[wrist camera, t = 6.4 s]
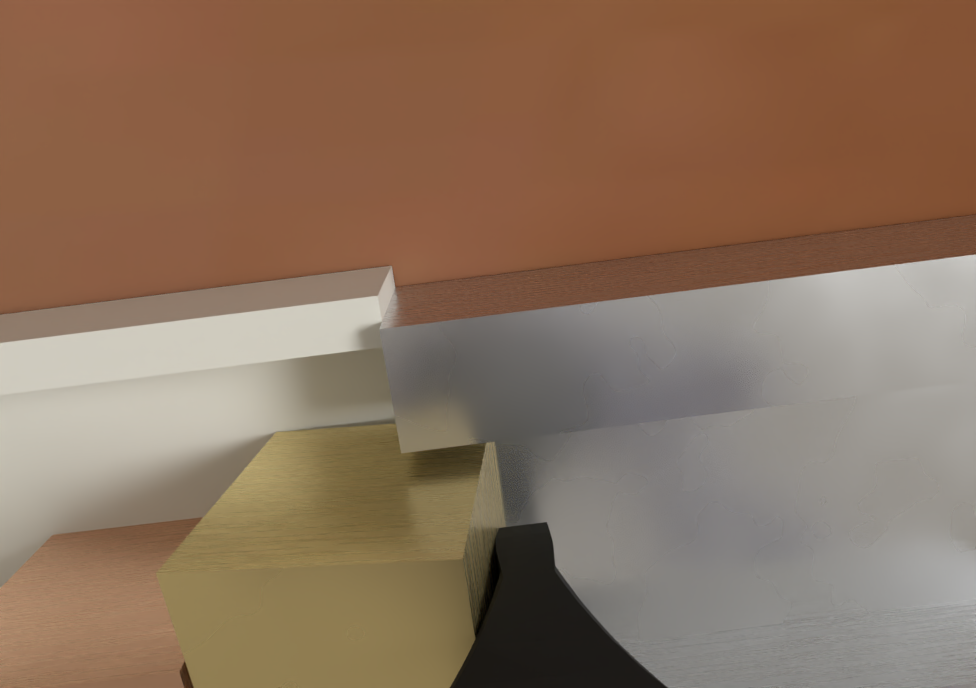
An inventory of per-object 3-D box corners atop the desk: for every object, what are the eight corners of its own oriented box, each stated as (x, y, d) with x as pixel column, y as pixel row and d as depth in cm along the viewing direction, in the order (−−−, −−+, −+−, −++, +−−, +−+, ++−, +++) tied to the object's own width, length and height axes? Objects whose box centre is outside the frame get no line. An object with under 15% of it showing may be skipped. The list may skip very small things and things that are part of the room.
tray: (468, 728, 15) (469, 822, 13) (20, 784, 15) (-49, 888, 13) (391, 265, 12) (377, 295, 10) (-183, 337, 12) (-318, 382, 10)
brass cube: (516, 602, 13) (500, 799, 9) (319, 609, 14) (230, 799, 10) (491, 416, 12) (462, 560, 8) (276, 432, 12) (155, 573, 9)
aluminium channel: (990, 648, 15) (1092, 748, 13) (465, 714, 15) (467, 828, 13) (1054, 204, 12) (1205, 225, 10) (395, 287, 12) (379, 329, 10)
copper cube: (302, 675, 14) (245, 877, 10) (111, 698, 14) (-15, 909, 10) (261, 510, 13) (178, 671, 9) (52, 534, 13) (-118, 707, 9)
